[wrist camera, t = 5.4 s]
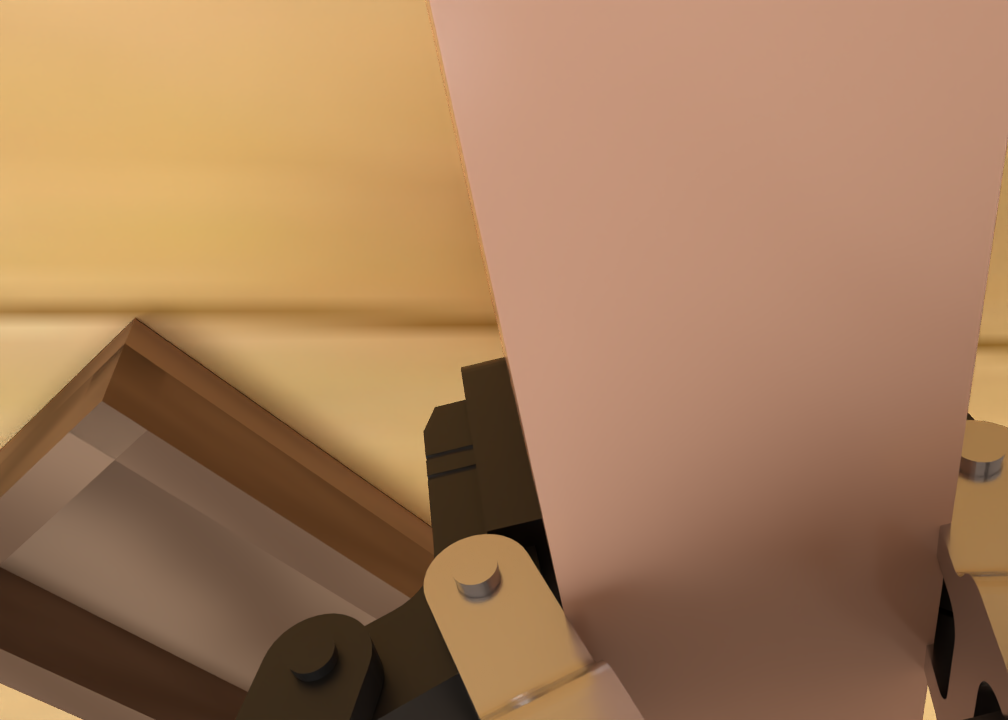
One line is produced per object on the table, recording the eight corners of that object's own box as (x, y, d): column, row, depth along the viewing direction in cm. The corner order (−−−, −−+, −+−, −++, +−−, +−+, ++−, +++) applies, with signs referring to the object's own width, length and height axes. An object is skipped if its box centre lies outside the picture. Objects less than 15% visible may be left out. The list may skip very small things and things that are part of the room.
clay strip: (393, -145, 10) (419, -47, 6) (730, -220, 10) (1056, -188, 6) (570, 655, 19) (642, 972, 14) (757, 613, 19) (893, 916, 14)
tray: (134, 318, 19) (101, 400, 17) (647, 680, 29) (675, 767, 26) (-77, 525, 22) (-134, 624, 19) (462, 798, 31) (471, 888, 28)
